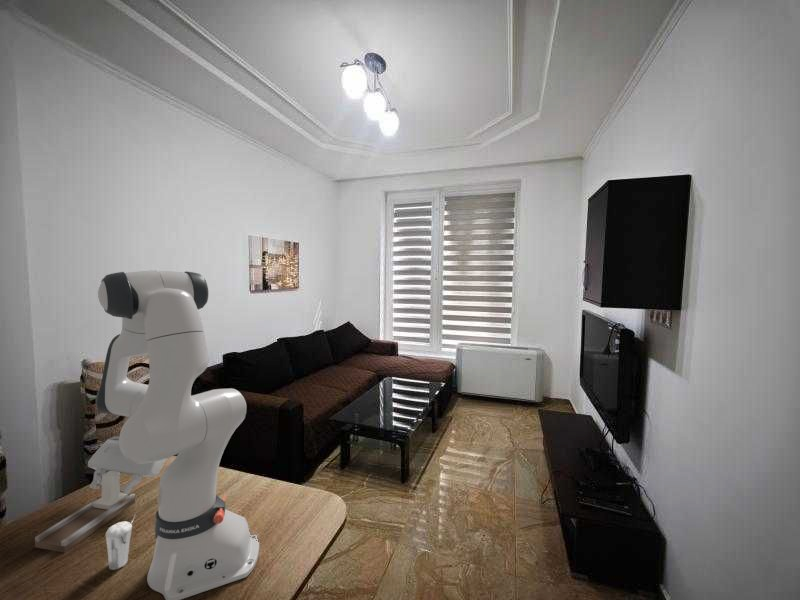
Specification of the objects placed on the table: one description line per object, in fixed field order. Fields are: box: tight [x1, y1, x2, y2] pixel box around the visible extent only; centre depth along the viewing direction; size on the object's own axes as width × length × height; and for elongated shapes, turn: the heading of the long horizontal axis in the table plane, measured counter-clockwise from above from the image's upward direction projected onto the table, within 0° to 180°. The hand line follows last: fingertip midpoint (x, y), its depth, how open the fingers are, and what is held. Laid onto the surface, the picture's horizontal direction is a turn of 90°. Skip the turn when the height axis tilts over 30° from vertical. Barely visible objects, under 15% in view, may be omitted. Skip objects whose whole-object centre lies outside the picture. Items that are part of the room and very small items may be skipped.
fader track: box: [34, 493, 136, 554], centre depth 87 cm, size 18×8×3 cm, turn 173°
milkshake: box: [105, 513, 137, 571], centre depth 76 cm, size 4×5×10 cm
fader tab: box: [93, 471, 128, 510], centre depth 92 cm, size 5×5×8 cm
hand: (108, 490), depth 91 cm, fingers open, 8 cm apart
